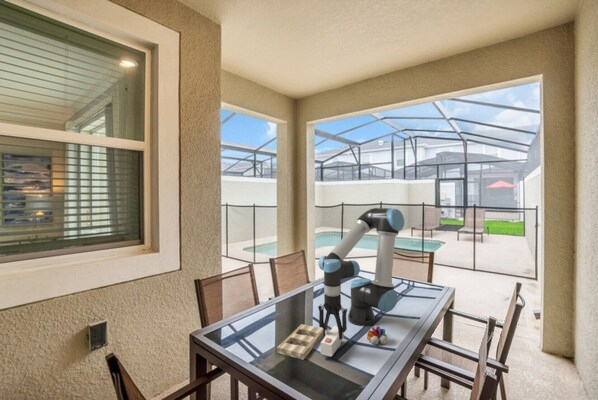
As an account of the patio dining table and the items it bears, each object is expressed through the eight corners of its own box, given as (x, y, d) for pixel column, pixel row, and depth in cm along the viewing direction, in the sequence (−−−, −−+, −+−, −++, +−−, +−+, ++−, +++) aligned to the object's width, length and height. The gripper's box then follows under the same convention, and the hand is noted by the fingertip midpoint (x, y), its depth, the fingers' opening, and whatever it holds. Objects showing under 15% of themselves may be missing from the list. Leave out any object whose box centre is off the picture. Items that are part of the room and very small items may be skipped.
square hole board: (324, 333, 144) (324, 328, 144) (303, 359, 120) (303, 353, 120) (301, 328, 149) (301, 324, 149) (277, 352, 126) (277, 347, 126)
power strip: (343, 342, 135) (343, 326, 135) (331, 361, 119) (331, 343, 119) (334, 339, 137) (333, 324, 137) (320, 358, 121) (320, 341, 121)
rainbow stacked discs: (364, 337, 140) (364, 323, 140) (383, 336, 140) (383, 322, 140) (370, 346, 131) (370, 331, 131) (390, 345, 132) (390, 330, 132)
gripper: (353, 294, 128) (354, 344, 128) (317, 288, 135) (317, 336, 135) (349, 299, 121) (349, 352, 121) (311, 293, 129) (311, 343, 129)
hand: (332, 344), depth 128 cm, fingers closed on power strip, 5 cm apart
